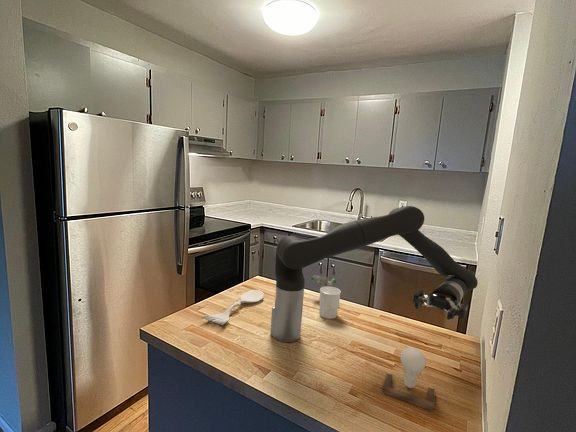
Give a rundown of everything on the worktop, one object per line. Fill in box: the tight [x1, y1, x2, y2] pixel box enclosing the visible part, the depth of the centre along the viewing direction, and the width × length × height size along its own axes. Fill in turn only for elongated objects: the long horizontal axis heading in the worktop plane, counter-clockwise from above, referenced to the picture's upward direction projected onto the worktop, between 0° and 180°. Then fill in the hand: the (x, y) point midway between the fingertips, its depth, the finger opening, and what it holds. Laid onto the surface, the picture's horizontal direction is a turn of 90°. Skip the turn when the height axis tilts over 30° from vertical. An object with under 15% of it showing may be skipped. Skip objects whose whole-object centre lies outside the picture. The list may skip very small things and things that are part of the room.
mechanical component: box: [311, 274, 337, 289], centre depth 133 cm, size 3×10×10 cm, turn 78°
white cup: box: [318, 286, 342, 320], centre depth 119 cm, size 8×8×10 cm
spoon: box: [201, 289, 265, 326], centre depth 119 cm, size 9×32×4 cm, turn 155°
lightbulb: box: [400, 346, 427, 389], centre depth 82 cm, size 6×6×11 cm
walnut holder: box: [381, 372, 435, 412], centre depth 80 cm, size 12×7×1 cm, turn 64°
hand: (432, 310), depth 88 cm, fingers open, 8 cm apart
